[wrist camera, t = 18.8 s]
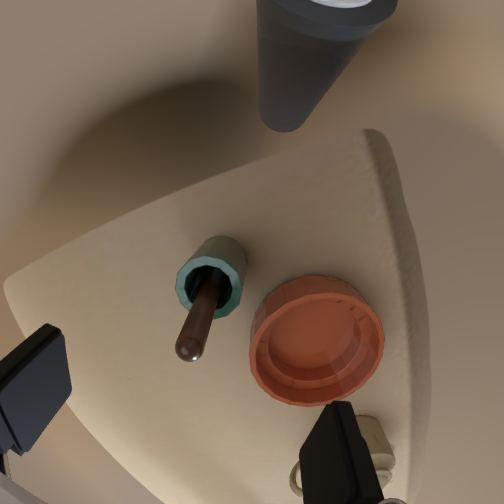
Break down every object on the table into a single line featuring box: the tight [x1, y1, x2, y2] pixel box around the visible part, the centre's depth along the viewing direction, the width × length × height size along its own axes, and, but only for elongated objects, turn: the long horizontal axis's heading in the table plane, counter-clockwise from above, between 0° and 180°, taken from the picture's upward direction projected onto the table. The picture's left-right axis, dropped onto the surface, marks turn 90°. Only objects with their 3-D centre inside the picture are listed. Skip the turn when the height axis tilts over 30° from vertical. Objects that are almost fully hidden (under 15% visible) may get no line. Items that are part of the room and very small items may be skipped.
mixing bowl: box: [249, 276, 385, 407], centre depth 31 cm, size 14×14×6 cm
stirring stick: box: [175, 266, 226, 362], centre depth 24 cm, size 2×2×16 cm
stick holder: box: [175, 236, 247, 319], centre depth 28 cm, size 5×5×9 cm
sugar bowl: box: [289, 416, 395, 497], centre depth 31 cm, size 15×11×15 cm
